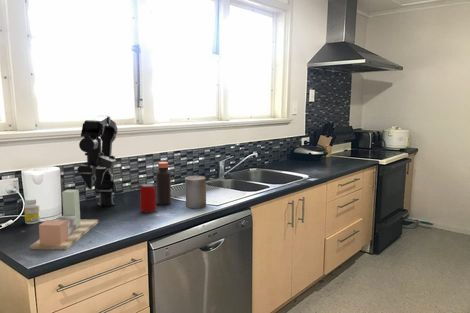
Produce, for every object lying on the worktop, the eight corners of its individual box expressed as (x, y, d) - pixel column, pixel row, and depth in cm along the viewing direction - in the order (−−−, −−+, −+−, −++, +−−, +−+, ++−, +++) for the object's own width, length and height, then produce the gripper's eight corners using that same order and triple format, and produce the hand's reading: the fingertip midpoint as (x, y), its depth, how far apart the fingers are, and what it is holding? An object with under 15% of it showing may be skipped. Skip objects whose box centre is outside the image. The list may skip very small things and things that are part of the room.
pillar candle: (203, 202, 182) (202, 172, 180) (208, 207, 173) (208, 176, 171) (183, 204, 178) (182, 173, 176) (188, 209, 169) (187, 177, 167)
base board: (69, 222, 150) (68, 205, 149) (98, 222, 150) (97, 206, 149) (30, 249, 122) (28, 229, 121) (66, 249, 122) (65, 229, 121)
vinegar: (173, 203, 179) (173, 162, 177) (162, 206, 174) (161, 164, 172) (165, 200, 184) (164, 161, 181) (153, 203, 179) (153, 162, 176)
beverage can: (149, 207, 171) (149, 182, 170) (159, 210, 167) (158, 184, 165) (137, 211, 166) (136, 184, 164) (146, 214, 162) (146, 187, 160)
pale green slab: (69, 224, 142) (67, 189, 140) (80, 225, 142) (78, 189, 140) (46, 241, 125) (43, 201, 123) (59, 241, 125) (56, 201, 123)
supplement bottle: (35, 224, 147) (34, 200, 145) (22, 224, 147) (20, 200, 145) (42, 220, 152) (41, 197, 151) (29, 219, 152) (28, 197, 151)
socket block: (47, 238, 128) (46, 220, 127) (67, 238, 128) (66, 220, 127) (40, 244, 123) (38, 225, 123) (60, 244, 123) (59, 225, 122)
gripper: (103, 152, 145) (104, 191, 147) (121, 148, 163) (122, 183, 165) (75, 152, 146) (77, 191, 147) (96, 148, 164) (97, 182, 166)
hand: (95, 186), depth 156 cm, fingers open, 9 cm apart
